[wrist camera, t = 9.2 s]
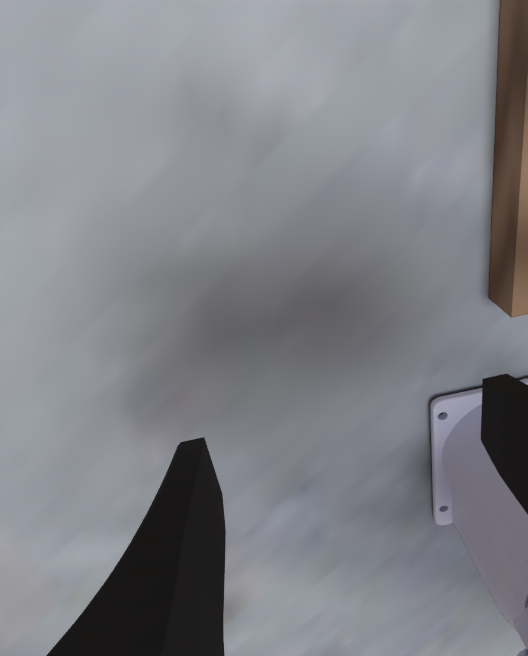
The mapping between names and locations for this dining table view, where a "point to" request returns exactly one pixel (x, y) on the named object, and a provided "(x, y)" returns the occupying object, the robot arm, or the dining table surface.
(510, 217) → the brown wooden frame
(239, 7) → the dining table surface
